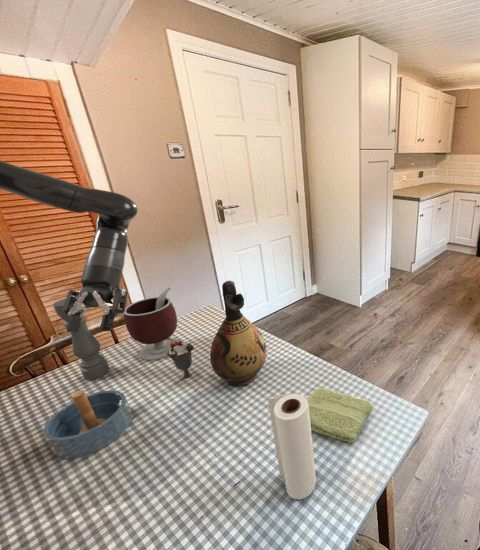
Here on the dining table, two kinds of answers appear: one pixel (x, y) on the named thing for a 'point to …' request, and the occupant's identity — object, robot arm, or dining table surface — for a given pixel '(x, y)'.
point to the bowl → (69, 423)
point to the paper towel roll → (293, 443)
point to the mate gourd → (152, 325)
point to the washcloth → (337, 414)
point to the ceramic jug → (237, 343)
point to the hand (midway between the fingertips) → (88, 331)
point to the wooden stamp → (85, 411)
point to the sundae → (181, 356)
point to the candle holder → (85, 347)
